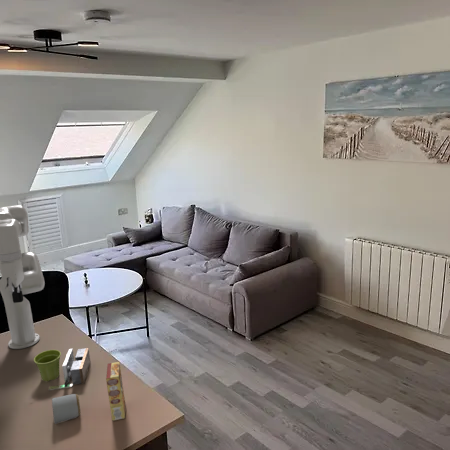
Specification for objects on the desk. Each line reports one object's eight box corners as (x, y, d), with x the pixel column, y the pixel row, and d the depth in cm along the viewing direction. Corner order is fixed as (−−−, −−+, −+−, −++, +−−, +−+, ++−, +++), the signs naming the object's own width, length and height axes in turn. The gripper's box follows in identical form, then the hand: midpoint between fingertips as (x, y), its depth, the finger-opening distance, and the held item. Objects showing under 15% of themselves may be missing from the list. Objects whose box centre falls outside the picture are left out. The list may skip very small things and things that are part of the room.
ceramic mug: (82, 420, 132) (79, 399, 130) (55, 429, 129) (51, 407, 127) (78, 402, 141) (75, 381, 140) (53, 409, 138) (49, 389, 136)
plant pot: (69, 371, 159) (66, 351, 157) (52, 386, 151) (48, 364, 149) (49, 368, 162) (46, 348, 160) (31, 382, 154) (27, 361, 152)
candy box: (125, 419, 132) (119, 376, 128) (111, 421, 131) (105, 378, 127) (125, 401, 140) (120, 361, 136) (112, 404, 139) (106, 363, 136)
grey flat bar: (63, 386, 149) (60, 369, 148) (71, 365, 163) (69, 349, 162) (75, 385, 150) (72, 368, 148) (82, 363, 164) (79, 347, 162)
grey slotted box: (48, 390, 148) (46, 375, 147) (59, 365, 164) (56, 351, 162) (83, 385, 150) (81, 370, 149) (90, 361, 165) (88, 348, 164)
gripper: (6, 251, 162) (14, 295, 166) (-9, 263, 147) (1, 311, 152) (26, 249, 163) (34, 293, 167) (14, 261, 148) (22, 308, 153)
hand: (18, 301), depth 159 cm, fingers closed
